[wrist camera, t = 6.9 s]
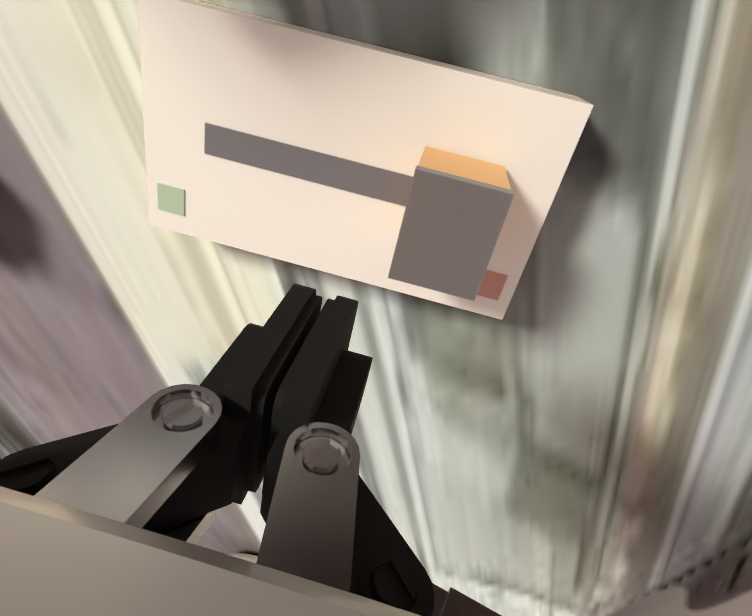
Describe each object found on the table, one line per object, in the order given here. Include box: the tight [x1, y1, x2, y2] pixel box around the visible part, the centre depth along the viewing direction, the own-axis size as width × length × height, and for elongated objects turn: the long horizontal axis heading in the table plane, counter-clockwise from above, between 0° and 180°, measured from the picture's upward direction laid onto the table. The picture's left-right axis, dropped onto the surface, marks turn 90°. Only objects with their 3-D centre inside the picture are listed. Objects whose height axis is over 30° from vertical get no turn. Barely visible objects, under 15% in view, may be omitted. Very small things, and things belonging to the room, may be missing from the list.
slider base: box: [138, 0, 593, 320], centre depth 27 cm, size 22×12×4 cm, turn 78°
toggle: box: [388, 146, 515, 301], centre depth 22 cm, size 4×5×5 cm
